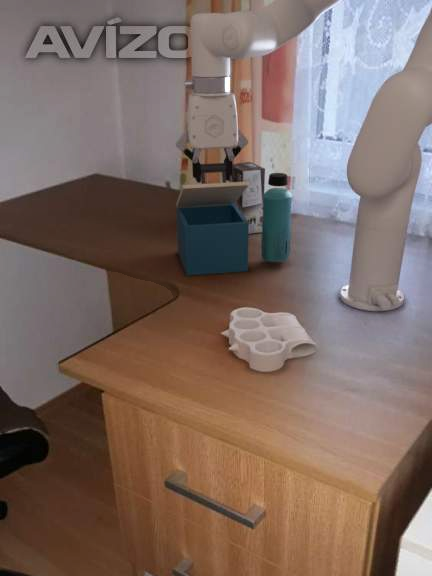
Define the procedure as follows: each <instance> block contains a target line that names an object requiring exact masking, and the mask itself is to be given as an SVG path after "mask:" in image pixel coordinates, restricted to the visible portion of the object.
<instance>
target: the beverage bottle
mask: <svg viewBox="0 0 432 576" xmlns="http://www.w3.org/2000/svg"><path fill="white" fill-rule="evenodd" d="M288 183H289V182H288V174H287V173H284V172H273V173H269V175H268V181H267V184H268V185H269V186H270V187H271V186H272V188H269V189H267V190H266V191H265V192H264V195H263V220H262V221H263V223H262V232H261V238H260V239H261V246H260V247H261V251H260V252H261V253H260V254H261V258H262V259H263V260H264V261H267V262H270V263H280V262H285V261H287V260H288V259H289V257H290V254H291V253H290V252H291V237H292V236H291V230H292V226H291V225H292V224H291V223H292V198H293V195H292V193H291V192H290V191H289V190H288V189H286V188H283V187H286V186H287V185H288Z"/></svg>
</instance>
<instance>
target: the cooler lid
mask: <svg viewBox="0 0 432 576" xmlns="http://www.w3.org/2000/svg"><path fill="white" fill-rule="evenodd" d="M200 164H201V183H193V184H192V183H191V184H183V185H182V187H181V188H180V192H179V195H178V198H177V202H176V203H175V204H176V205H175V206H176V208H177V207H193V206H210V205H228V204H235V203H236V202H237V200H238V199H239V198H240V196H241V195H242V194H243V192H244V191H245V189H246V188H247V187H248V185H249V182H229V181H227V180H226V163H224V162H219V163H217V162H216V163H200ZM213 173H217V174H218V173H221V178H222V182H212V183H206V175H205V174H213Z"/></svg>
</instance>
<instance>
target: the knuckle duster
mask: <svg viewBox="0 0 432 576" xmlns="http://www.w3.org/2000/svg"><path fill="white" fill-rule="evenodd" d="M228 324H229V325H228V329H226V330H224V331H222V332H220V333H219V334H220V335H222V336H224V337H226V338H227V339H228V344H229V345H230V346H229V348H228V349H227V350H228V351H231V352H232V353H233V354H234V355H235V356H236V357H237V358H239V359H240V360H243V361H245V362H247V363H248V365H249V368H250V369H251V370H253V371H256V372H261V373H273V372H276V371H279V370H280V369H282V368H283V366H284V365H285V362H286V361H288V360H290V359H291V360H292V359H299V358H303V357H308V356H310V355H312V354H314V353H315V352H316V351H317V343H316V342H315V341H313V340H312V338H311V337H310V336H309V334H308V333H307V332H306V331H307V330H306V329H305V328H304V327H303V326H302V325H301V323H300V322H299V321H298V320H297V316H296V315H294V314H292V313H289V312H281V311H279V312H267V311H263V310H260V309H259V308H255V307H239V308H236V309H234V310H232V311H230V314H229V323H228Z"/></svg>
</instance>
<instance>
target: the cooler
mask: <svg viewBox="0 0 432 576" xmlns="http://www.w3.org/2000/svg"><path fill="white" fill-rule="evenodd" d="M176 229H177V253H178V256H179V258H180V261H181V263H182V267H183V269H184V272H185V274H186V276H199V275H211V274H227V273H239V272H248V271H249V237H250V234H249V223H248V221H247V220H246V219H245V217H244V216H243V215H242V213H241V212H240V211H239V209H238V208H237V207H236V205H235V204H222V205H204V206H186V207H176Z"/></svg>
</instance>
